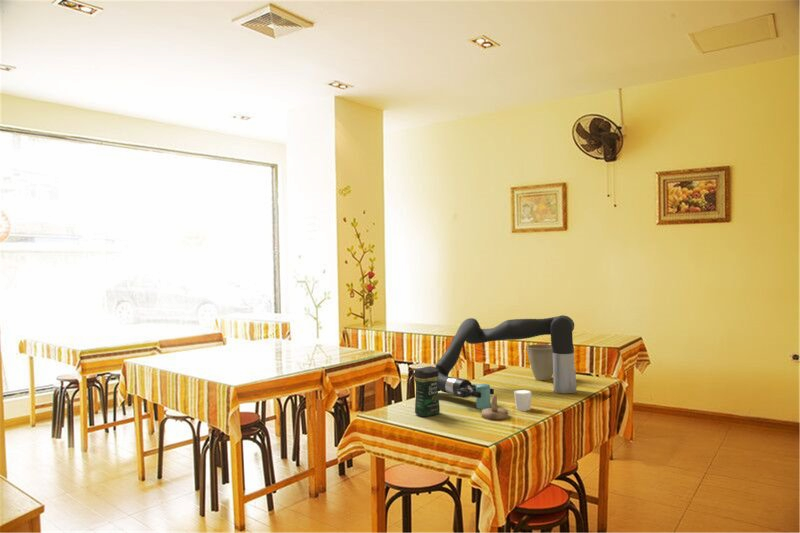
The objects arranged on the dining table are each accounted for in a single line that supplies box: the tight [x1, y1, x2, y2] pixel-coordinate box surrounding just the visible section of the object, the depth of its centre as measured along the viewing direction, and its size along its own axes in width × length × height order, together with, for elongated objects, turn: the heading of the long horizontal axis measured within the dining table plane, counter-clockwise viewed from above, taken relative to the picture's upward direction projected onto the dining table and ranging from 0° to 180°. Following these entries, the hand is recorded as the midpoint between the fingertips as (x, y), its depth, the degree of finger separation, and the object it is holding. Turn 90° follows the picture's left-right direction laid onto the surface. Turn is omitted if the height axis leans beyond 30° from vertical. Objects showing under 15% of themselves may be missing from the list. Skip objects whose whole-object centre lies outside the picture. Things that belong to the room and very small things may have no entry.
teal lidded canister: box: [475, 383, 492, 410], centre depth 232 cm, size 6×6×9 cm
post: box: [481, 394, 509, 421], centre depth 219 cm, size 10×10×8 cm
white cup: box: [513, 389, 532, 412], centre depth 227 cm, size 7×7×7 cm
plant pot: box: [526, 343, 553, 381], centre depth 278 cm, size 15×15×16 cm
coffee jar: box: [413, 365, 441, 417], centre depth 226 cm, size 10×8×19 cm
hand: (487, 393), depth 230 cm, fingers open, 7 cm apart
